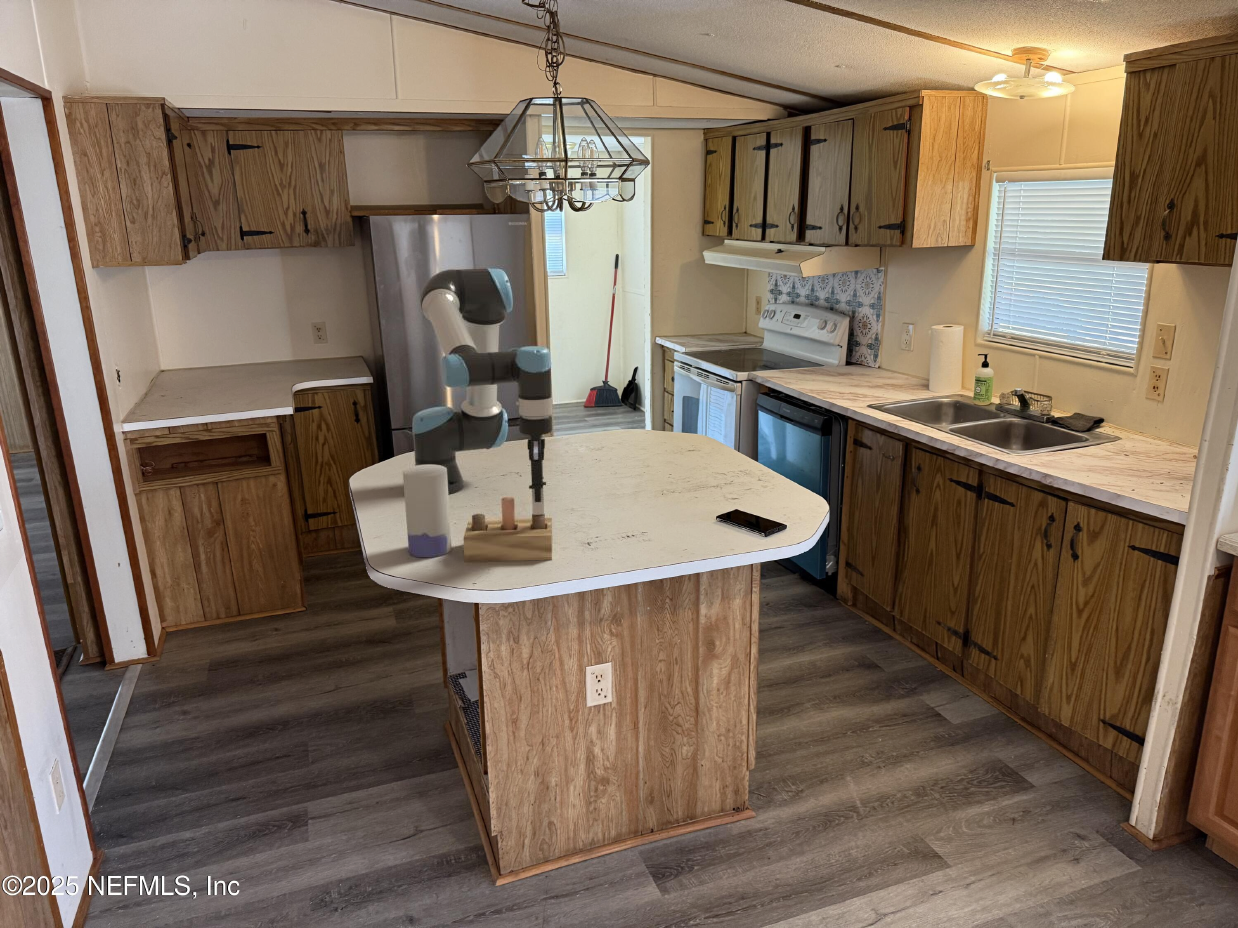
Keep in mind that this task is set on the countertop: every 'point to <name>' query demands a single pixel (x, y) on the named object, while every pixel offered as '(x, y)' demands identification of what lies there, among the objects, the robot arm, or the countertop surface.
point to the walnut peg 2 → (538, 522)
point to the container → (427, 510)
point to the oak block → (508, 541)
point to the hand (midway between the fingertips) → (538, 513)
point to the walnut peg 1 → (478, 522)
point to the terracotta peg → (508, 513)
